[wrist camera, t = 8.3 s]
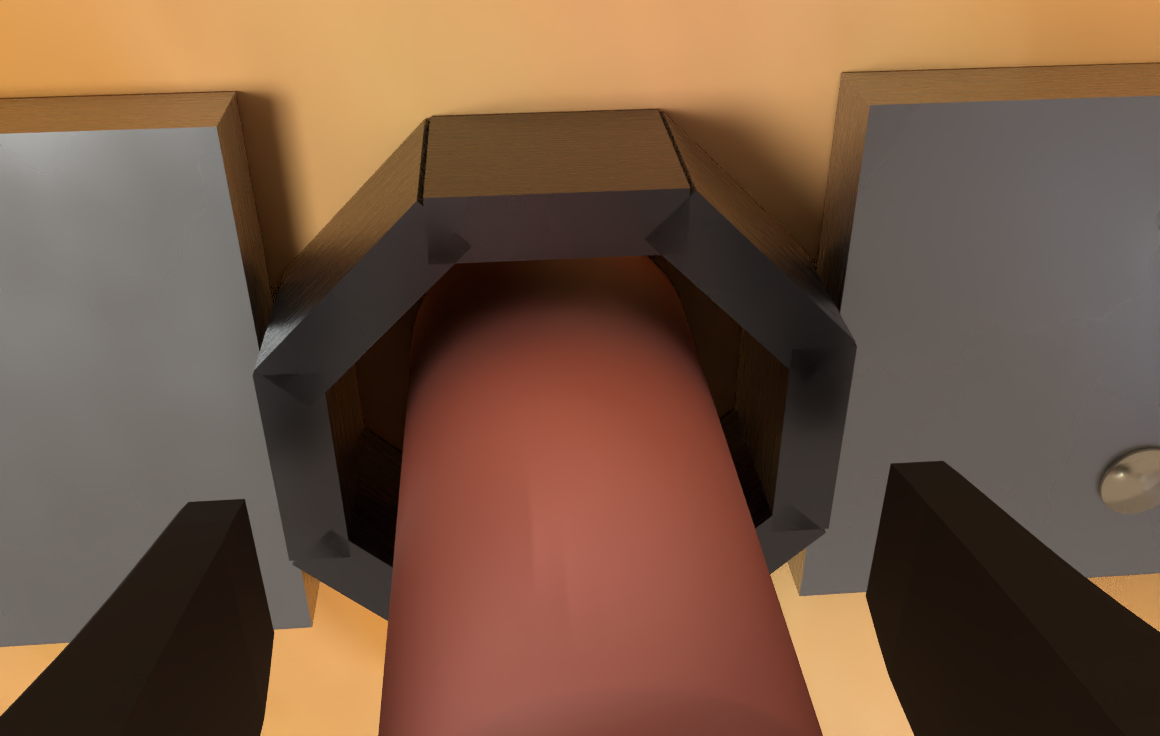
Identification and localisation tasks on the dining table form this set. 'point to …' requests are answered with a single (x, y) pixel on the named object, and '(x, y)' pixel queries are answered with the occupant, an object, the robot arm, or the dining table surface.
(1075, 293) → the hinge
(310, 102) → the dining table surface
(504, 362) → the hinge pin
